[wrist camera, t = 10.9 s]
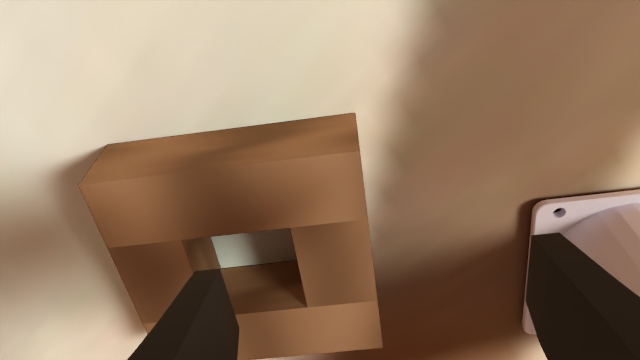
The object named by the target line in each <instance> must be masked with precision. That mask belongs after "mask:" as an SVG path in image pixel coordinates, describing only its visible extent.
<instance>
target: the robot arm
mask: <svg viewBox="0 0 640 360" xmlns="http://www.w3.org/2000/svg"><path fill="white" fill-rule="evenodd" d="M558 208H562V209H561V210H560V211H559V212H554V211H555V210H556V209H558ZM522 326H523V328H524V331H525V332H526V333H528V334H537V337H538V340H539V342H540V345H541V347H542V349H543V351H544V353H545V355H546V357H547V359H548V360H640V189H638V190H629V191H620V192H612V193H603V194H594V195H585V196H576V197H567V198H558V199H549V200H543V201H540V202H538V203H537V204H536V205H535V206H534V207H533V210H532V220H531V231H530V242H529V253H528V264H527V275H526V286H525V297H524V308H523V319H522ZM238 343H239V325H238V322H237V319H236V316H235V313H234V310H233V307H232V304H231V301H230V298H229V294H228V291H227V288H226V285H225V282H224V279H223V276H222V273H221V270H220V268H219V269H210V270H201V271H195V272H194V273H193V274H192V276H191V277H190V278H189V280H188V281H187V282H186V284H185V285H184V286H183V288H182V289H181V291H180V292H179V293H178V295H177V296H176V297H175V299H174V300H173V302H172V303H171V304H170V306H169V307H168V308H167V310H166V311H165V312H164V314H163V315H162V317H161V318H160V319H159V320H158V322H157V323H156V324H155V326H154V327H153V328H152V330H151V331H150V332H149V333H148V335H147V336H146V337H145V339H144V340H143V341H142V343H141V344H140V345H139V346H138V348H137V349H136V350H135V351H134V352H133V354H132V355H131V356H130V357H129V358H128V360H237V356H238Z"/></svg>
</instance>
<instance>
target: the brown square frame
mask: <svg viewBox="0 0 640 360" xmlns="http://www.w3.org/2000/svg"><path fill="white" fill-rule="evenodd" d="M78 186H79V188H80V190H81V192H82V194H83V197H84V199H85V201H86V203H87V205H88V207H89V209H90V212H91V214H92V216H93V218H94V220H95V222H96V224H97V227H98V229H99V231H100V233H101V235H102V237H103V239H104V242H105V244H106V246H107V248H108V250H109V252H110V254H111V257H112V259H113V261H114V263H115V265H116V267H117V269H118V272H119V274H120V276H121V278H122V280H123V282H124V284H125V287H126V289H127V291H128V293H129V295H130V297H131V299H132V302H133V304H134V306H135V308H136V310H137V312H138V314H139V317H140V319H141V321H142V323H143V325H144V327H145V329H146V332H147V334H148V333H149V332H150V331H151V330H152V328H153V327H154V326H155V324H156V323H157V322H158V320H159V319H160V318H161V317H162V315H163V314H164V312H165V311H166V310H167V308H168V307H169V306H170V304H171V303H172V302H173V300H174V299H175V297H176V296H177V295H178V293H179V292H180V291H181V289H182V288H183V286H184V285H185V284H186V282H187V281H188V280H189V278H190V277H191V276H192V274H193V273H194V272H195V271H201V270H210V269H219V268H220V270H221V273H222V276H223V279H224V282H225V285H226V288H227V291H228V294H229V298H230V301H231V304H232V307H233V310H234V313H235V316H236V319H237V322H238V325H239V343H238V356H237V360H254V359H265V358H276V357H287V356H298V355H309V354H320V353H331V352H342V351H353V350H364V349H375V348H383V343H382V334H381V326H380V317H379V309H378V300H377V292H376V284H375V275H374V267H373V258H372V250H371V241H370V233H369V224H368V216H367V207H366V199H365V190H364V182H363V173H362V165H361V157H360V148H359V140H358V131H357V123H356V115H355V113H350V114H343V115H335V116H327V117H319V118H311V119H304V120H296V121H288V122H280V123H272V124H265V125H257V126H249V127H241V128H233V129H226V130H218V131H210V132H202V133H195V134H187V135H179V136H171V137H163V138H156V139H148V140H140V141H132V142H124V143H117V144H109V145H107V146H106V148H105V149H104V151H103V152H102V153H101V155H100V156H99V157H98V159H97V160H96V162H95V163H94V164H93V166H92V167H91V168H90V170H89V171H88V173H87V174H86V175H85V177H84V178H83V179H82V181H81V182H80V184H79V185H78ZM284 228H290V229H291V234H292V238H293V243H294V248H295V252H296V257H297V261H290V262H281V263H271V264H262V265H253V266H243V267H234V268H224V269H221V267H220V264H219V261H218V258H217V255H216V252H215V249H214V246H213V243H212V240H211V237H212V236H221V235H230V234H239V233H248V232H257V231H266V230H275V229H284Z"/></svg>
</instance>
